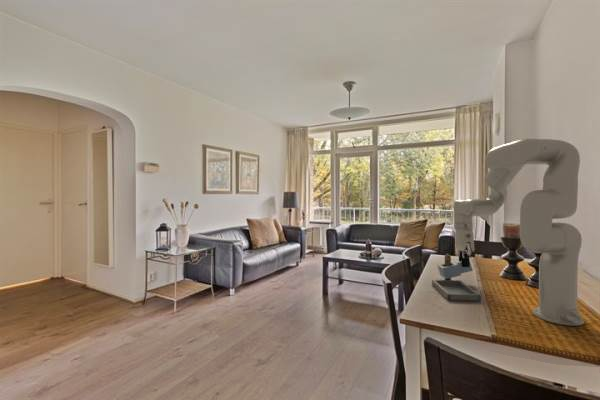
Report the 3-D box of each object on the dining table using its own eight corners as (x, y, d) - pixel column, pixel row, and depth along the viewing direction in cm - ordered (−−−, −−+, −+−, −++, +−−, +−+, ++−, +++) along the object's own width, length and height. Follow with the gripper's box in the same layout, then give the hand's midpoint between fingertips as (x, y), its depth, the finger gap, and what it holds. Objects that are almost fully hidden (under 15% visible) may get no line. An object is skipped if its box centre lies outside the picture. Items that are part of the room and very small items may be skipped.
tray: (480, 301, 111) (480, 295, 111) (447, 300, 113) (447, 294, 113) (460, 286, 130) (460, 280, 130) (432, 285, 132) (432, 279, 132)
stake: (452, 282, 135) (451, 255, 135) (446, 282, 135) (446, 255, 135) (449, 280, 138) (449, 253, 138) (443, 280, 139) (443, 253, 138)
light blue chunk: (474, 271, 131) (471, 261, 131) (445, 278, 133) (442, 268, 133) (468, 268, 138) (464, 258, 138) (440, 275, 140) (437, 265, 140)
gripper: (480, 227, 127) (481, 270, 127) (464, 224, 143) (465, 262, 143) (462, 228, 128) (463, 270, 128) (448, 225, 144) (449, 262, 144)
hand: (464, 265), depth 135 cm, fingers closed on light blue chunk
